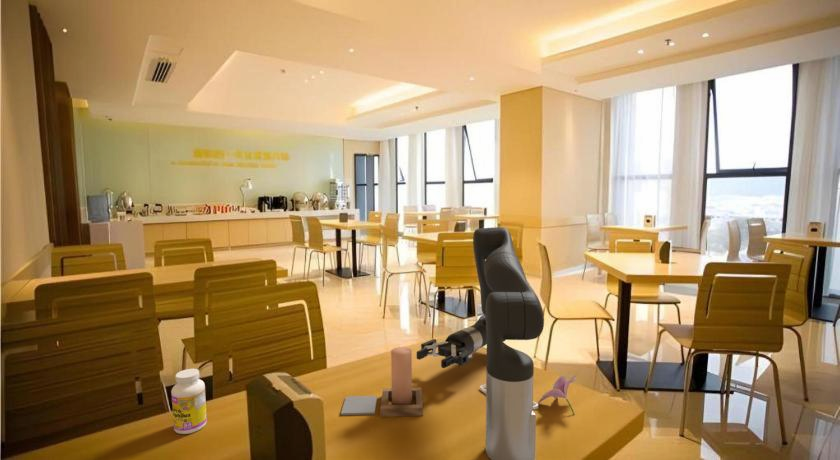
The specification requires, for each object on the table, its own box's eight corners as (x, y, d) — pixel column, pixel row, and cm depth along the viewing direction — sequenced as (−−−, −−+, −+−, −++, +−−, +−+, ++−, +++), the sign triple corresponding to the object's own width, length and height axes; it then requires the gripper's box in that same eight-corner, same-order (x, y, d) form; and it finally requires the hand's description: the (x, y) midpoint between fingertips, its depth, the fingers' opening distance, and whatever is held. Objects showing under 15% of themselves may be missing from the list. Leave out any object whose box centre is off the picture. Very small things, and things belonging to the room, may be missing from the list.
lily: (583, 402, 107) (566, 365, 110) (603, 407, 96) (584, 366, 98) (540, 420, 105) (524, 382, 108) (556, 428, 94) (538, 385, 97)
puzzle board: (421, 394, 109) (421, 387, 109) (422, 415, 99) (422, 407, 99) (383, 395, 109) (383, 388, 109) (380, 416, 99) (380, 408, 99)
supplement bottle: (166, 432, 93) (162, 377, 92) (190, 417, 100) (187, 365, 98) (190, 437, 91) (186, 381, 90) (213, 421, 98) (210, 368, 96)
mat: (377, 397, 108) (377, 395, 108) (374, 414, 100) (374, 412, 100) (345, 398, 108) (345, 396, 108) (340, 415, 100) (340, 413, 100)
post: (412, 400, 107) (411, 346, 105) (412, 410, 102) (411, 354, 100) (392, 400, 107) (391, 347, 105) (391, 410, 102) (390, 355, 100)
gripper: (445, 325, 128) (409, 340, 116) (485, 335, 119) (451, 353, 107) (445, 348, 129) (409, 366, 117) (484, 361, 120) (451, 381, 107)
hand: (429, 360), depth 112 cm, fingers open, 8 cm apart
